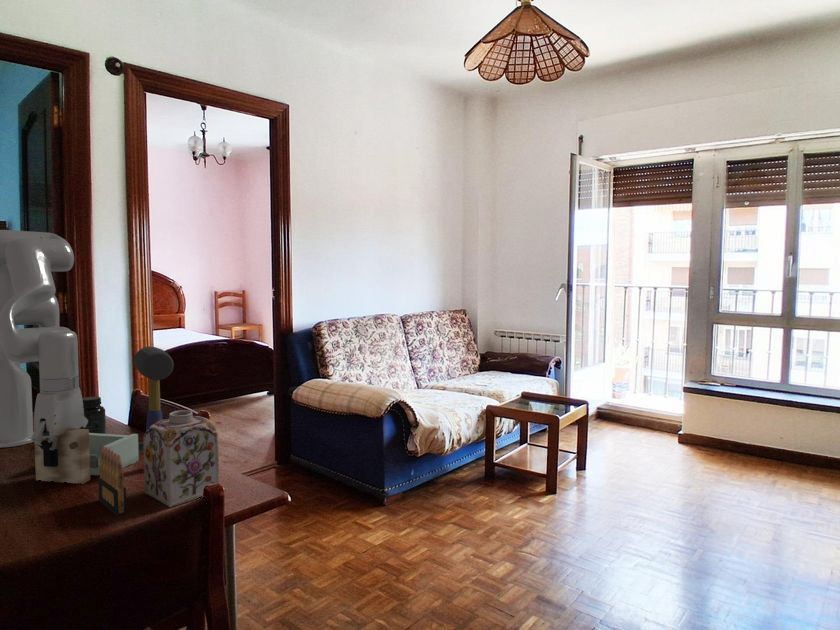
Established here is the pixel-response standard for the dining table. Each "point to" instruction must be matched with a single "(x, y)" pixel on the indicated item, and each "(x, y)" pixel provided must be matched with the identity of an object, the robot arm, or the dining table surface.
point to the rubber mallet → (153, 377)
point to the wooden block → (67, 459)
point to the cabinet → (112, 449)
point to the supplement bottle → (94, 415)
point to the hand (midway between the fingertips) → (62, 460)
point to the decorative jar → (180, 458)
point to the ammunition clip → (112, 482)
